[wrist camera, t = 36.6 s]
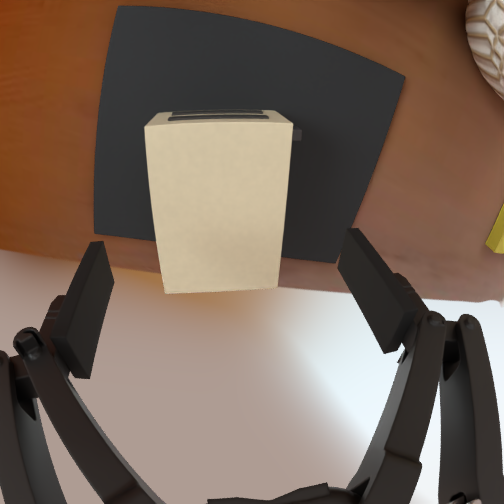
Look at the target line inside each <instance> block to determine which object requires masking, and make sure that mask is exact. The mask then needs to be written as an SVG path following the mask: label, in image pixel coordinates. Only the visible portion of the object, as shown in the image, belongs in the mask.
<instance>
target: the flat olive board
mask: <svg viewBox="0 0 504 504" xmlns="http://www.w3.org/2000/svg"><path fill="white" fill-rule="evenodd" d="M485 244H486V245H487V246H488V247H489V248H490V249H491V250H492V251H493V252H495V253H502V254H504V203H503V206H502V208H501V211H500V213H499V215H498V217H497V220H496V222H495V224H494V226H493V229H492V231H491V233H490V235H489V237H488V239H487V241H486V243H485Z"/></svg>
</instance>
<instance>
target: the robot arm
mask: <svg viewBox="0 0 504 504" xmlns="http://www.w3.org/2000/svg"><path fill="white" fill-rule="evenodd" d="M338 270H339V272H340V273H341V275H342V277H343V279H344V281H345V282H346V284H347V286H348V288H349V289H350V291H351V293H352V295H353V297H354V298H355V300H356V302H357V304H358V305H359V307H360V309H361V311H362V313H363V315H364V317H365V319H366V320H367V322H368V324H369V326H370V328H371V330H372V331H373V333H374V336H375V337H376V340H377V341H378V343H379V345H380V347H381V349H382V351H383V353H384V354H386V353H390V352H394V351H397V350H398V348H399V347H400V345H401V343H402V344H403V345H404V347H405V350H404V351H403V353H402V355H401V356H400V358H399V360H398V362H397V363H399V362H400V363H399V366H398V370H397V373H396V376H395V379H394V382H393V385H392V388H391V391H390V394H389V397H388V400H387V403H386V405H385V408H384V411H383V413H382V416H381V418H380V421H379V424H378V426H377V429H376V431H375V434H374V436H373V438H372V441H371V443H370V445H369V448H368V450H367V452H366V454H365V456H364V459H363V461H362V463H361V465H360V467H359V469H358V471H357V473H356V474H355V476H354V477H353V478H352V480H351V481H350V483H349V484H348V486H347V488H346V489H343V488H338V487H328V484H327V482H326V483H322V484H318V485H314V486H309V487H304V488H299V489H297V490H295V491H292V492H290V493H288V494H285V495H283V496H280V497H278V498H275V499H273V500H257V499H247V498H239V497H235V498H222V499H208V500H207V501H208V503H207V504H409V503H410V501H411V498H412V495H413V493H414V490H415V487H416V485H417V482H418V479H419V476H420V473H421V469H422V463H421V462H420V461H419V457H420V454H421V451H422V447H423V444H424V441H425V437H426V434H427V430H428V426H429V423H430V419H431V414H432V410H433V406H434V401H435V397H436V392H437V387H438V382H439V386H440V406H441V453H440V454H441V455H440V472H439V487H438V500H439V504H504V475H503V466H502V465H503V464H502V444H501V432H500V422H499V413H498V406H497V399H496V393H495V387H494V381H493V376H492V371H491V366H490V361H489V357H488V352H487V348H486V344H485V340H484V336H483V332H482V329H481V325H480V323H479V321H478V320H477V319H476V318H475V317H473V316H472V315H469V314H463V315H461V316H460V318H459V320H458V321H446V320H445V318H444V317H443V316H442V315H441V314H439V313H437V312H435V311H429V310H428V308H427V307H426V305H425V304H424V302H423V301H422V299H421V298H420V297H419V295H418V294H417V293H416V292H415V290H414V289H413V287H411V284H410V283H409V282H408V280H407V279H406V278H405V277H403V276H402V275H401V274H399V273H393V272H392V271H391V270H390V268H389V267H388V266H387V264H386V263H385V262H384V260H383V259H382V258H381V257H380V255H379V254H378V253H377V251H376V250H375V249H374V247H373V246H372V245H371V244H370V242H369V241H368V240H367V238H366V237H365V236H364V235H363V233H362V232H361V231H360V230H359V228H346V232H345V237H344V241H343V246H342V251H341V255H340V260H339V264H338ZM113 285H114V279H113V275H112V272H111V268H110V265H109V261H108V257H107V253H106V250H105V246H104V242H103V241H98V242H90V244H89V246H88V248H87V250H86V252H85V254H84V256H83V258H82V261H81V263H80V265H79V267H78V269H77V271H76V273H75V276H74V278H73V280H72V282H71V285H70V287H69V289H68V291H67V294H66V295H58V296H57V297H56V299H54V301H53V302H52V303H51V305H50V307H49V310H48V313H47V314H46V317H45V319H44V322H43V324H42V326H41V329H40V331H39V332H38V330H37V329H36V328H33V327H27V328H24V329H22V330H21V331H20V332H18V333H17V335H16V336H15V337H14V341H13V347H14V348H15V349H16V351H17V352H18V354H19V355H17V356H13V357H9V356H8V355H7V354H6V353H5V352H4V351H1V350H0V486H1V490H2V494H3V497H4V501H5V504H67V502H66V500H65V497H64V495H63V492H62V490H61V487H60V484H59V481H58V478H57V475H56V473H55V470H54V466H53V463H52V460H51V457H50V453H49V450H48V446H47V443H46V439H45V435H44V431H43V427H42V423H41V419H40V414H39V409H38V405H37V399H36V398H38V397H39V399H40V400H41V403H42V405H43V407H44V409H45V411H46V413H47V414H48V417H49V418H50V420H51V422H52V424H53V426H54V428H55V430H56V431H57V433H58V435H59V436H60V438H61V440H62V442H63V443H64V445H65V447H66V448H67V450H68V452H69V453H70V455H71V457H72V458H73V460H74V461H75V463H76V464H77V466H78V467H79V469H80V470H81V472H82V473H83V475H84V476H85V478H86V479H87V480H88V482H89V483H90V485H91V486H92V487H93V489H94V490H95V491H96V492H97V494H98V495H99V497H100V498H101V499H102V501H103V502H104V504H166V503H165V502H164V501H162V500H161V499H160V498H159V497H158V496H157V495H156V494H155V493H154V492H153V491H152V490H151V488H150V487H149V486H148V485H147V484H146V483H145V482H144V481H143V480H142V479H141V478H140V476H139V475H138V474H137V473H136V472H135V471H134V470H133V469H132V467H131V466H130V465H129V464H128V462H127V461H126V460H125V459H124V458H123V457H122V455H121V454H120V453H119V451H118V450H117V449H116V447H115V446H114V445H113V444H112V442H111V441H110V440H109V438H108V437H107V436H106V434H105V433H104V432H103V430H102V429H101V427H100V426H99V425H98V423H97V422H96V420H95V419H94V417H93V416H92V415H91V413H90V412H89V410H88V409H87V407H86V406H85V404H84V403H83V401H82V399H81V398H80V396H79V395H78V393H77V391H76V390H75V388H74V387H73V385H72V383H71V382H70V380H69V379H68V376H69V372H70V371H71V373H72V374H73V376H74V377H75V378H81V379H90V376H91V371H92V366H93V362H94V357H95V353H96V348H97V344H98V340H99V336H100V332H101V328H102V324H103V320H104V317H105V313H106V309H107V306H108V302H109V299H110V295H111V292H112V289H113Z"/></svg>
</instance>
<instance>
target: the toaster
mask: <svg viewBox="0 0 504 504" xmlns="http://www.w3.org/2000/svg"><path fill="white" fill-rule="evenodd" d="M144 129H145V143H146V156H147V167H148V178H149V187H150V196H151V205H152V213H153V221H154V228H155V235H156V242H157V249H158V255H159V262H160V268H161V274H162V280H163V285H164V291H165V294H173V293H198V292H219V291H238V290H256V289H272V288H277V286H278V278H279V269H280V260H281V250H282V241H283V231H284V221H285V211H286V201H287V191H288V180H289V169H290V157H291V145H292V140H295V141H301V136H302V130H301V129H299V128H298V127H297V126H293V123H292V122H290V121H289V120H287V119H286V118H285V117H283V116H282V115H280V114H279V113H278V112H276V111H273V110H198V111H178V112H163V113H158V114H157V115H156V116H155V117H154V118H153V119H152V120H151V121H150V122H149V123H148V124H147V125H146V126H145V127H144Z"/></svg>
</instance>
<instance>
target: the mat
mask: <svg viewBox="0 0 504 504" xmlns="http://www.w3.org/2000/svg"><path fill="white" fill-rule="evenodd" d="M404 80H405V76H403V75H401V74H399V73H397V72H395V71H393V70H391V69H389V68H387V67H385V66H383V65H381V64H378V63H376V62H374V61H372V60H369V59H367V58H365V57H363V56H360V55H358V54H355V53H353V52H350V51H348V50H345V49H343V48H340V47H338V46H335V45H332V44H330V43H327V42H324V41H321V40H318V39H315V38H312V37H309V36H306V35H303V34H300V33H296V32H293V31H290V30H286V29H283V28H279V27H275V26H271V25H267V24H263V23H259V22H255V21H251V20H246V19H241V18H236V17H231V16H226V15H220V14H214V13H208V12H201V11H193V10H185V9H175V8H164V7H148V6H118V9H117V13H116V17H115V21H114V25H113V29H112V34H111V38H110V43H109V48H108V53H107V59H106V64H105V70H104V76H103V83H102V90H101V97H100V105H99V114H98V124H97V136H96V150H95V169H94V233H95V234H102V235H110V236H118V237H126V238H134V239H142V240H150V241H156V235H155V228H154V221H153V213H152V205H151V196H150V187H149V178H148V167H147V156H146V143H145V129H144V127H145V126H146V125H147V124H148V123H149V122H150V121H151V120H152V119H153V118H154V117H155V116H156V115H157V114H158V113H163V112H178V111H198V110H273V111H276V112H278V113H279V114H280V115H282V116H283V117H285V118H286V119H287V120H289V121H290V122H292V123H293V126H297V127H298V128H299V129H301V130H302V136H301V141H295V140H292V145H291V157H290V169H289V180H288V191H287V201H286V211H285V221H284V231H283V241H282V250H281V257H287V258H295V259H303V260H311V261H319V262H327V263H336V261H337V259H338V257H339V254H340V252H341V250H342V246H343V241H344V237H345V232H346V228H351V227H352V224H353V222H354V219H355V217H356V214H357V212H358V210H359V207H360V205H361V202H362V200H363V197H364V195H365V192H366V190H367V187H368V184H369V182H370V179H371V177H372V174H373V171H374V169H375V166H376V163H377V161H378V158H379V155H380V152H381V150H382V147H383V144H384V141H385V138H386V135H387V133H388V130H389V127H390V124H391V121H392V118H393V115H394V112H395V109H396V105H397V102H398V99H399V96H400V93H401V90H402V86H403V83H404Z"/></svg>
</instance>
